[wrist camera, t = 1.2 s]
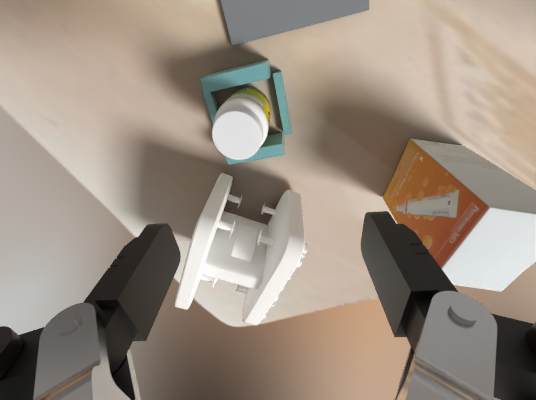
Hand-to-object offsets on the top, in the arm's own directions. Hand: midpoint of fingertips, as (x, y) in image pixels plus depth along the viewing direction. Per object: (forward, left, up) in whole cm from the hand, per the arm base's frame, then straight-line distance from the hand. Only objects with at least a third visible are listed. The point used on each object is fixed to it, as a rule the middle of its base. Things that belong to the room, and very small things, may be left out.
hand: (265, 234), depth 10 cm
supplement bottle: (+3, -1, -19) cm, 20 cm away
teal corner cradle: (+3, -1, -19) cm, 19 cm away
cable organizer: (+7, +13, -20) cm, 25 cm away
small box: (-15, +10, -19) cm, 27 cm away
